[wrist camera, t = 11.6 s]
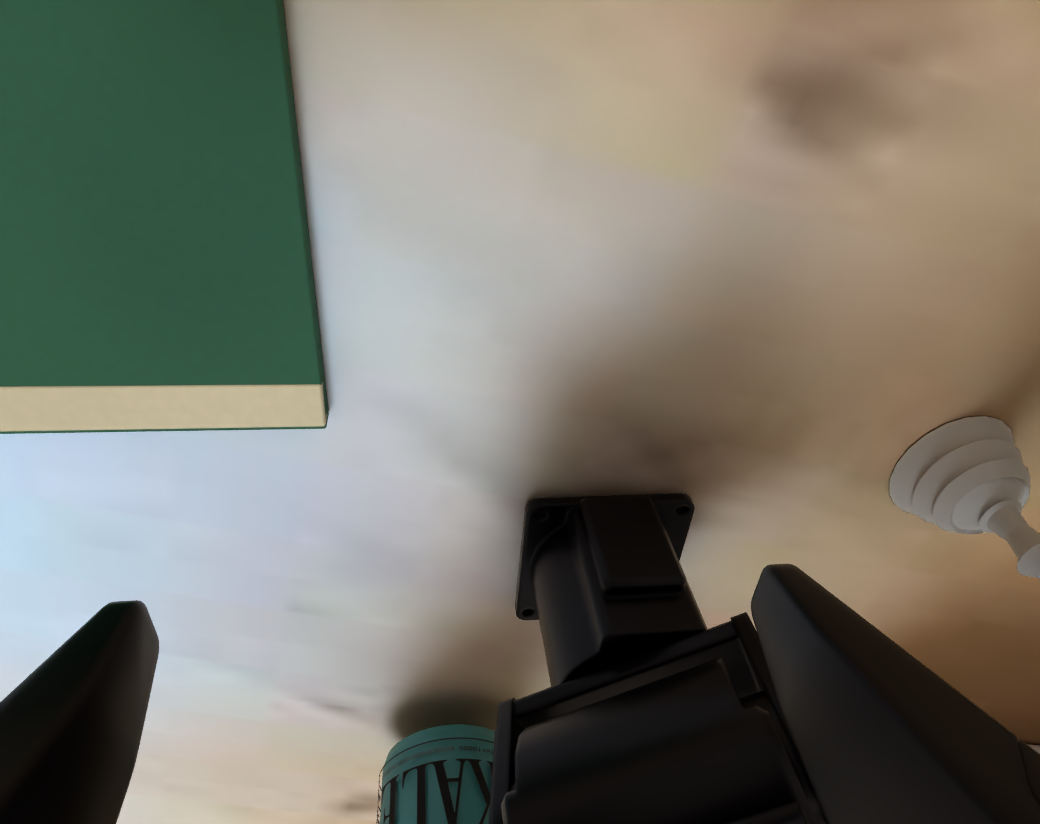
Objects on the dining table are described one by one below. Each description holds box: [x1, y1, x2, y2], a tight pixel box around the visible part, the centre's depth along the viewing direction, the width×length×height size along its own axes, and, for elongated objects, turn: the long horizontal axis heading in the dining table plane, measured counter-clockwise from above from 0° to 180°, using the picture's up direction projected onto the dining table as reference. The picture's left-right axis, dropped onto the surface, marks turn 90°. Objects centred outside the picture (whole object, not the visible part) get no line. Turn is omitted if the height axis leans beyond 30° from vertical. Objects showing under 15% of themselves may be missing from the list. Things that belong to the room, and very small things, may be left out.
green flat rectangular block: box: [0, 0, 328, 434], centre depth 15 cm, size 20×12×1 cm, turn 176°
